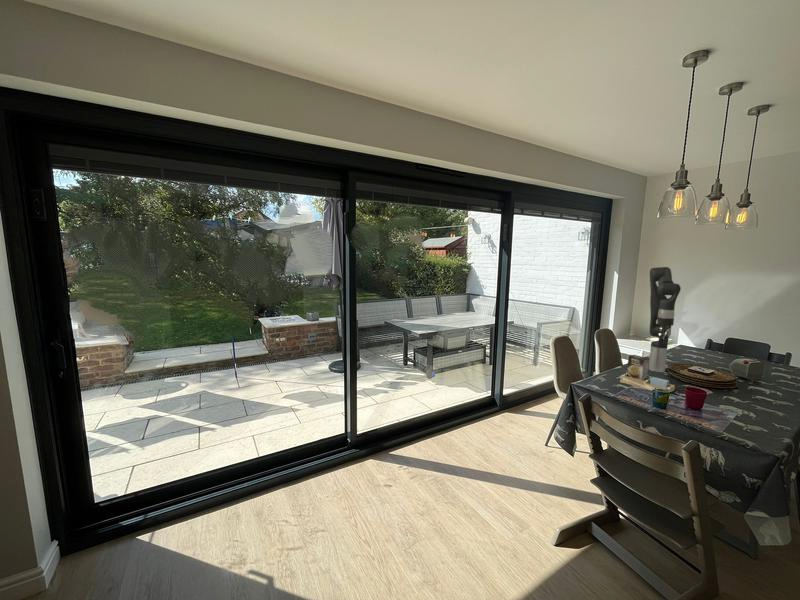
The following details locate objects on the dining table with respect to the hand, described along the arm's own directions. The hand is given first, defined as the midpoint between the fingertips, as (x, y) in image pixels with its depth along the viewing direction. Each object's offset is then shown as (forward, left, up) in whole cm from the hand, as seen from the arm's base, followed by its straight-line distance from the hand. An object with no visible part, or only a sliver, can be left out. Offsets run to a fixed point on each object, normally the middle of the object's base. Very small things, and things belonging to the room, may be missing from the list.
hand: (663, 343), depth 197 cm
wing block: (0, 0, -27) cm, 27 cm away
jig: (0, -6, -28) cm, 29 cm away
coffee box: (0, -12, -27) cm, 30 cm away
